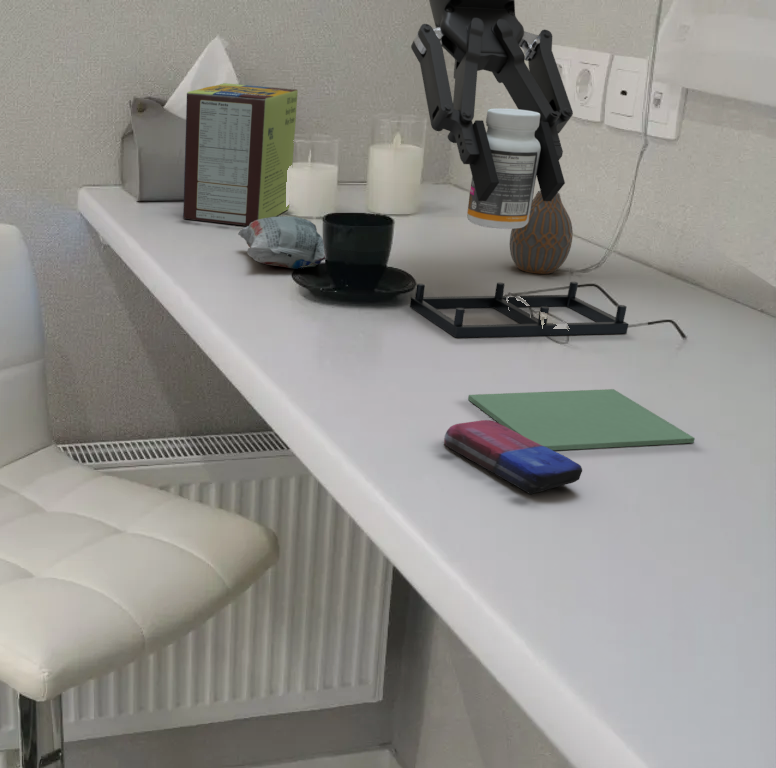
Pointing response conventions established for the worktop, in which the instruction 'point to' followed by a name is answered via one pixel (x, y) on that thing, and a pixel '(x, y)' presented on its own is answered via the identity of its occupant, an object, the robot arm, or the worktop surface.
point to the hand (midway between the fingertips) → (521, 191)
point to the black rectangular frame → (517, 314)
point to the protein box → (238, 152)
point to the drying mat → (579, 419)
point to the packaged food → (284, 242)
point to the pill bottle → (509, 170)
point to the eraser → (512, 456)
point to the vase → (542, 237)
